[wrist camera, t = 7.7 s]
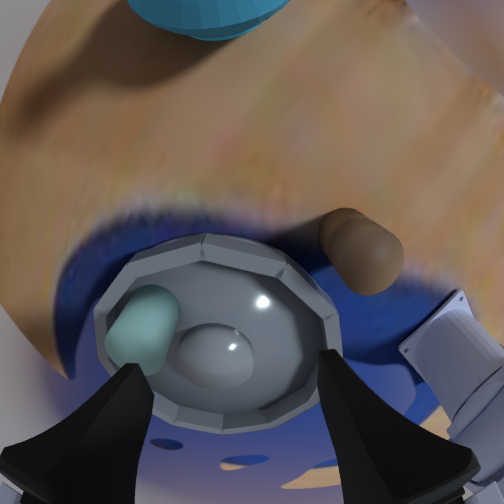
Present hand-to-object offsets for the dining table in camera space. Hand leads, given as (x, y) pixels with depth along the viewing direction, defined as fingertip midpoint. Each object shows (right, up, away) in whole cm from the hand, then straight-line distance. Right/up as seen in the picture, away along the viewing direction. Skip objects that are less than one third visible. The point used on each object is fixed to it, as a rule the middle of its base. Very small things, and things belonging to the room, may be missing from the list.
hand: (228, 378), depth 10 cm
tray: (-2, -2, +11) cm, 11 cm away
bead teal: (-6, +1, +8) cm, 10 cm away
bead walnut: (+7, +6, +8) cm, 12 cm away
